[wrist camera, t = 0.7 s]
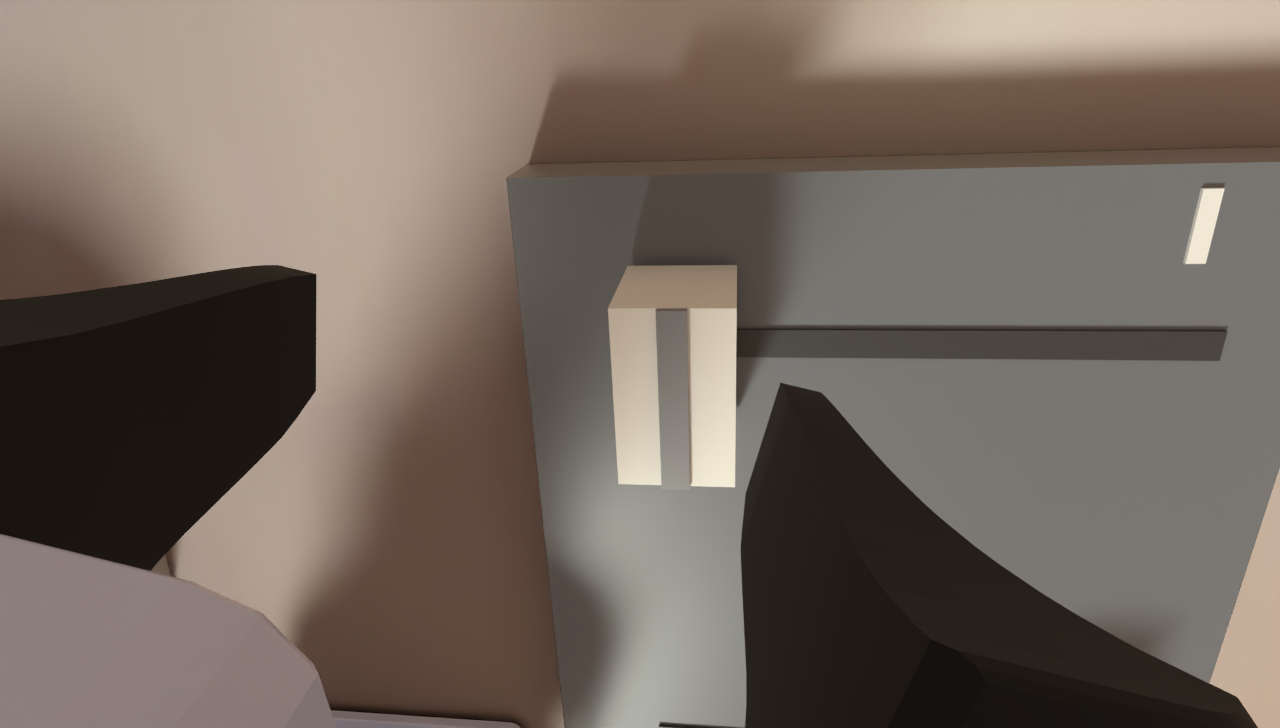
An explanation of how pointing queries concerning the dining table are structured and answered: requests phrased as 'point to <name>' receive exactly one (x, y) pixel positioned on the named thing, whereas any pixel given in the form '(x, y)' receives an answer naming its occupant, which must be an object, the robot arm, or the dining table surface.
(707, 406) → the block
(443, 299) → the dining table surface
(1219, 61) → the dining table surface
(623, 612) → the console
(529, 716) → the dining table surface
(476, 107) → the dining table surface
